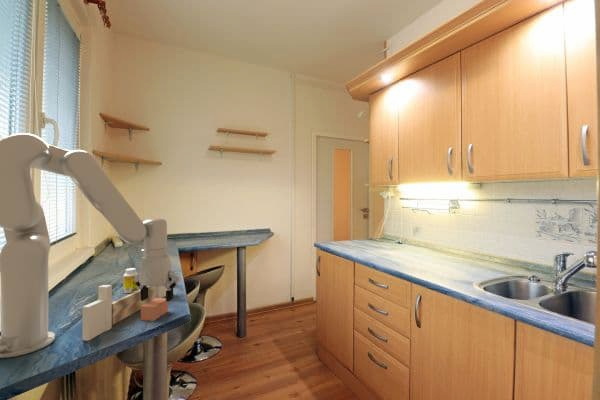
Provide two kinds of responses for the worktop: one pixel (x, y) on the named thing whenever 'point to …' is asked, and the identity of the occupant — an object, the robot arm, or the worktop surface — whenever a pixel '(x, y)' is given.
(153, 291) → the gate door
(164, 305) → the salmon orange block
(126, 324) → the worktop surface
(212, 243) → the worktop surface
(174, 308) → the worktop surface
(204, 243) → the worktop surface
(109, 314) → the wall frame
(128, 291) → the supplement bottle
